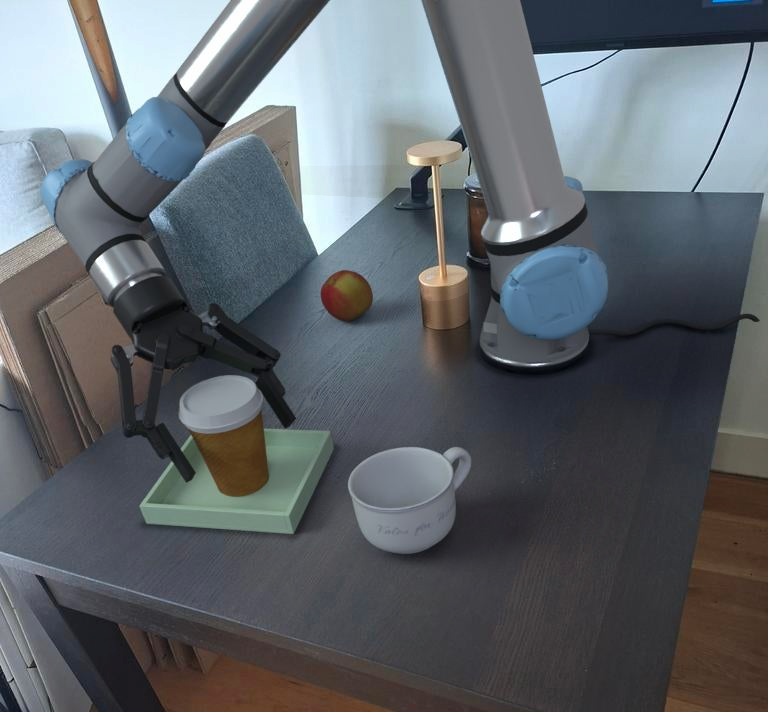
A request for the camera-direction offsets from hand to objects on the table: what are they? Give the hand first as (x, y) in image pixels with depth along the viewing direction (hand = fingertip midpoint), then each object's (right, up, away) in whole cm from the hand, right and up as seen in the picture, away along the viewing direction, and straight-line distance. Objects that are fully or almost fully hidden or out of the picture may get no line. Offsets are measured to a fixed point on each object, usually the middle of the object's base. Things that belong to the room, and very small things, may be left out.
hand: (242, 450), depth 86 cm
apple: (+11, +24, +37) cm, 45 cm away
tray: (-1, -4, +5) cm, 7 cm away
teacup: (+20, -9, -4) cm, 22 cm away
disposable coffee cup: (-1, -3, +5) cm, 6 cm away
